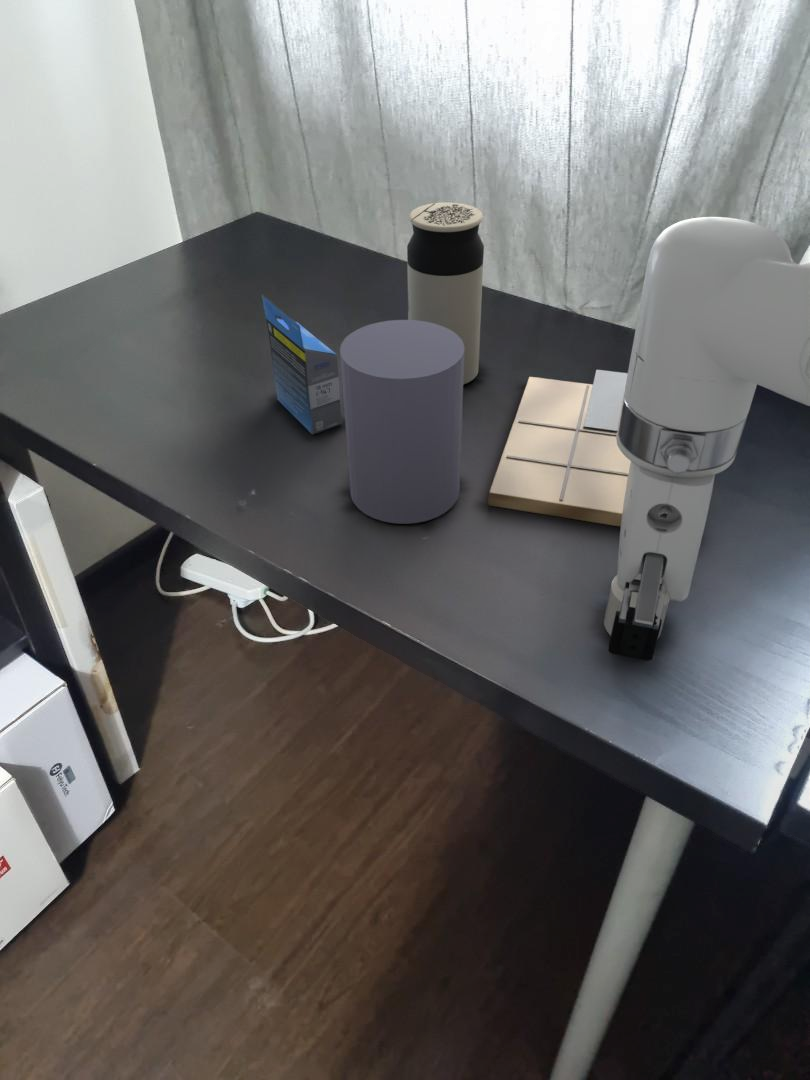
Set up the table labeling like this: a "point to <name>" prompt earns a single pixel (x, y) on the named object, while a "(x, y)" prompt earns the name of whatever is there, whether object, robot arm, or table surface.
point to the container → (403, 418)
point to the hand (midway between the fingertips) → (633, 619)
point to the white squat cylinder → (616, 602)
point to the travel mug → (448, 273)
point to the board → (566, 451)
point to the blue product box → (303, 372)
